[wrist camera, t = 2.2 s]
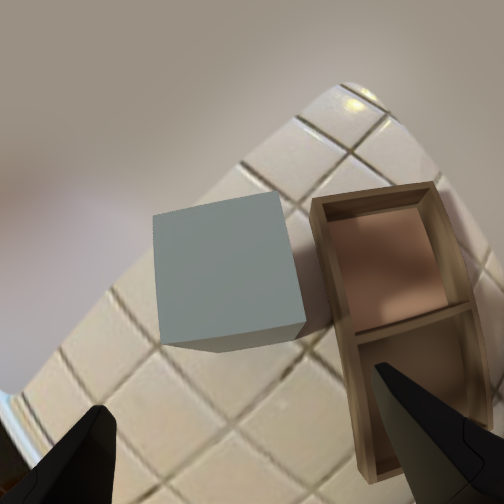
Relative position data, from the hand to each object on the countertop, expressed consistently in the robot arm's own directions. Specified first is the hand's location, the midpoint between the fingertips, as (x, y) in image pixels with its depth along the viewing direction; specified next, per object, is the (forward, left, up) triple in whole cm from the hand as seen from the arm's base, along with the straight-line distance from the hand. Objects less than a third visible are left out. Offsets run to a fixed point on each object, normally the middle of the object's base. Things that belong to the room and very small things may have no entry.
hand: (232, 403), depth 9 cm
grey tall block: (+5, 0, -10) cm, 12 cm away
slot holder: (+1, -10, -10) cm, 15 cm away
